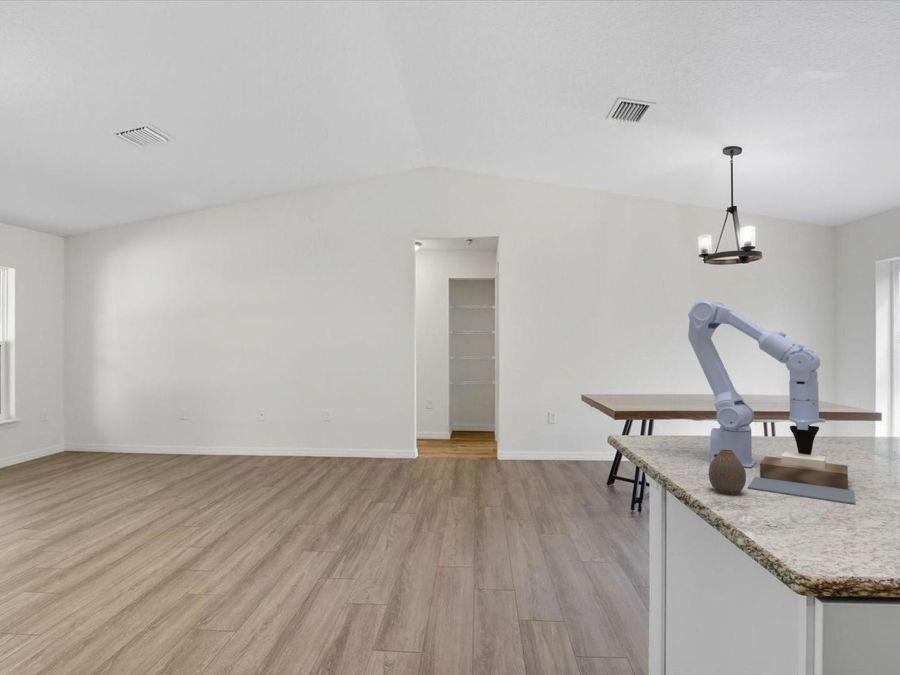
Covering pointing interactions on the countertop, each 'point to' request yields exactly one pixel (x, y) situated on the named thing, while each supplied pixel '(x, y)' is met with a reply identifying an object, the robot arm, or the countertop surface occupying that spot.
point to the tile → (803, 460)
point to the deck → (805, 473)
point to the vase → (727, 473)
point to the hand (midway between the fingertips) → (804, 456)
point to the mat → (803, 490)
